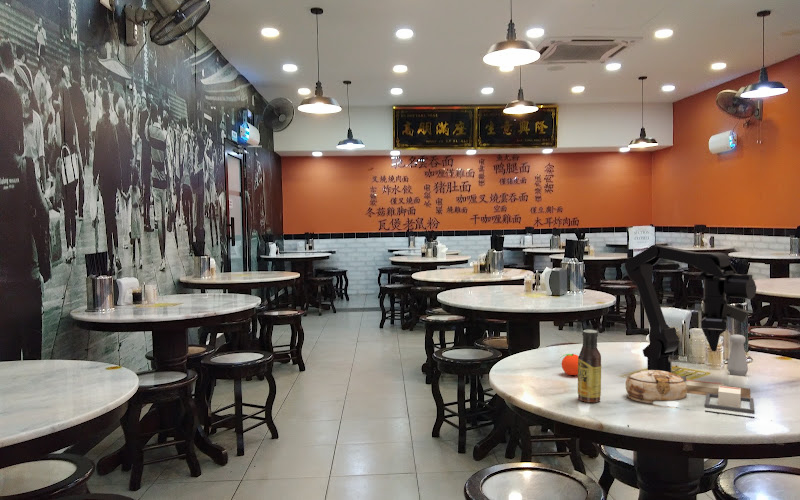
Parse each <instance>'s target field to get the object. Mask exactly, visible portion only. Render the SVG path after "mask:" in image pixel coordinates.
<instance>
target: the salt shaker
mask: <svg viewBox="0 0 800 500" xmlns="http://www.w3.org/2000/svg"><path fill="white" fill-rule="evenodd" d="M729 341H730V343H731V347H730V352H729V357H728V361H727V365H726V369H727V371H728V374H729V375H730V376H737V377H746V375H747V373H748V371H749V366H748V360H747V355H746V351H745V346H744V345H745V343H746V337H745V336H744V335H742V334H731V335H730V336H729Z"/></svg>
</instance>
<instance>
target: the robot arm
mask: <svg viewBox="0 0 800 500" xmlns="http://www.w3.org/2000/svg"><path fill="white" fill-rule="evenodd" d="M626 259H627V260H626V261H625V263H624V269H625V271H626V273H627V275H628V277H629V279H630V280H631V281H632V282H633V283H634V284H635V285H636V287H637V291H638V294H639V297H640V300H641V303H642V306H643V309H644V312H645V315H646V319H647V321H648V324H649V334H648V339H649V344H648V345H647V346H646V347H644V349H642V354H643V356H644V357H645V358H646V359H647V360H646V361H647V367H646V368H647V369H646V370H660V371H667V372H671V373H673V372H672V370H673V369H672V365H673V362H672V360H670V357H672V356H674V352H676V350H677V349H678V347H679V346H680V345H679V343H680V342H679V340H680V337H679V336H678V334H677V330H676V328H675V327H670V325H668V324H667V321H666V319H665V316H664V314H663V311H662V307H661V304H660V301H659V298H658V295H657V292H656V289H655V286H654V284H653V275H654V268H653V266H654V265H656V264H657V263H658V262H659V261H660V260H661V259H662V260H663V259H664V260H666V261H667V260H668V261H672V262H677V263H681V264H684V265H685V264H686V265H689V266H693V267H694V268H696V269H697V270H700V271H702V272H701V273H700V274H699V275H697V276H696V277H695V279H696V280H700V281H701V280H702V281H703V300H702V301H703V314H702V317H703V318H702V319H701V321H700V325H701V327H700V328H701V330H702V331H703V335H704V336H705V338H706V341H707V343H708V345H709V347H710V350H711V352H717V349H718V345H719V340H720V336H721V335H722V334H723V333H724V332H726V331H727V321H728V318H730V319H733V320H736V321H738V322H740V323H742V324H744V323H745V322H746V319H747V317H748V315H749V314H750V313H749V312H750V311H748V310H747V309H744V304H742V303H739V302H737V303H736V304H735V305H733V304H729V303H728V299H727V296H728V297H730V298H737V299H738V298H739V299H747V300H752V299H753V298H754V297H755V296H756V293H757V285H756V282H755V280H754V278H753V274H749V273H748V274H739V273H738V272H737V271H736V269H735V268H734V267H733V266H732V264H731V263H730V258H729V257H728V256H727V254H726V253H723V252H696V251H691V250H687V249H681V248H677V247H673V246H668V245H667V246H666V245H663V244H652V245H650V246H649V247H648V248H646V249H645V250H643V251H641V252H639V253H637V254H636V255H634V256H629V258H626Z"/></svg>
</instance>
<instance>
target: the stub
mask: <svg viewBox="0 0 800 500" xmlns="http://www.w3.org/2000/svg"><path fill="white" fill-rule="evenodd" d="M727 386H728V385H724V386H719V390H718V398H717V399H718V400H717V401H718V402H717V405H722V406H730V407H738V408H741V402H742V401H741V388H742V387H739V388H736V387H737V386H730V387H727Z"/></svg>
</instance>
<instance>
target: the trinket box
mask: <svg viewBox="0 0 800 500" xmlns="http://www.w3.org/2000/svg"><path fill="white" fill-rule="evenodd" d="M680 376H681V375H678V374H677V373H674V372H667V371H660V370H647V369H645V370H641V371H637V372H635V373H632V374H631V375H630V376H627V378H626V380H625V390H626V391H625V392H626V394H627V395H628V398H629V399H631V400H633V401H636V402H641V403H645V404H646V403H647V404H653V403H654V401H674V400H675V401H676V400H682V399H684V398H685V397H686V396H687V394H688V393H687V386H686V383H685V382H684V380H683V378H682V377H680Z"/></svg>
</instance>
